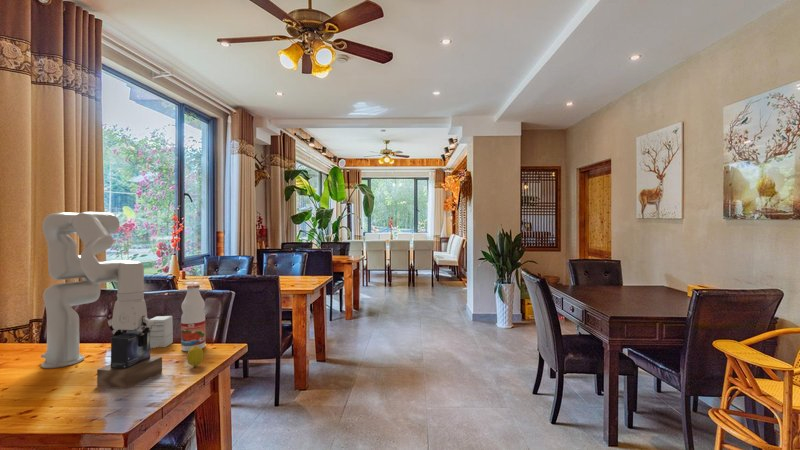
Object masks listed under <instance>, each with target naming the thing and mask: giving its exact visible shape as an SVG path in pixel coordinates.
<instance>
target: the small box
mask: <svg viewBox="0 0 800 450" xmlns="http://www.w3.org/2000/svg"><path fill="white" fill-rule="evenodd" d="M139 335H140V334H139V332H138V331H137V330H134V331H130V330H129V331H127V332H125V333H124V332H123V334H121V335H118V336H115V337H114V336H111V337H110V345H111V346H110V364H111V368H129V367H131V366H133V365H135V364H138V363H140V362H142V361H145V360H147V359H149V358H150V356H151V348H150V331H149V333H147V345H144V346H142V347H139V346H138V336H139Z"/></svg>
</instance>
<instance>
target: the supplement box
mask: <svg viewBox="0 0 800 450" xmlns="http://www.w3.org/2000/svg"><path fill="white" fill-rule="evenodd" d="M149 319H150V320H152V321H153V322H154V324H153V326H152V329H151V330H150V349H157V348H156V347H165V348H166V347H167V346H169V345H171V344H172V343H174V341H173V340H174V339H173V338H174V336H173V335H174V330H173V329H174V328H173V326H174V325H173V323H174V322H173V315H164V316H163V315H162V316H161V315H159V316H154V317H153V318H149Z"/></svg>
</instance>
